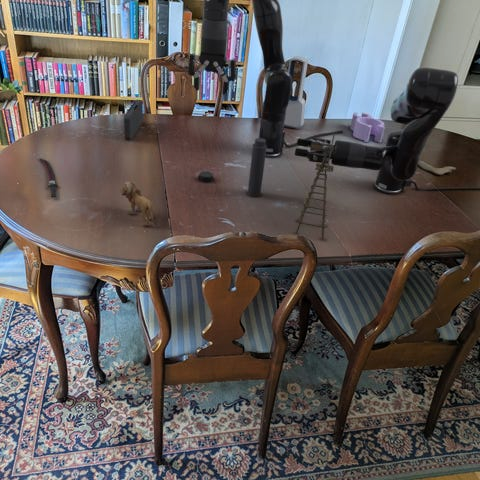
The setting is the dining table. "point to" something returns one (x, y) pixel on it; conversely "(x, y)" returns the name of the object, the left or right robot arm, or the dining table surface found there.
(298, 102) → the electronic device
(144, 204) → the lion figurine
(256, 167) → the dark grey cylinder
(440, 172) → the jawbone
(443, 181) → the dining table surface
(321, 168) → the miniature windmill
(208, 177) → the lid
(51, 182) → the sword
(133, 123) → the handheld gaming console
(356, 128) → the clip
